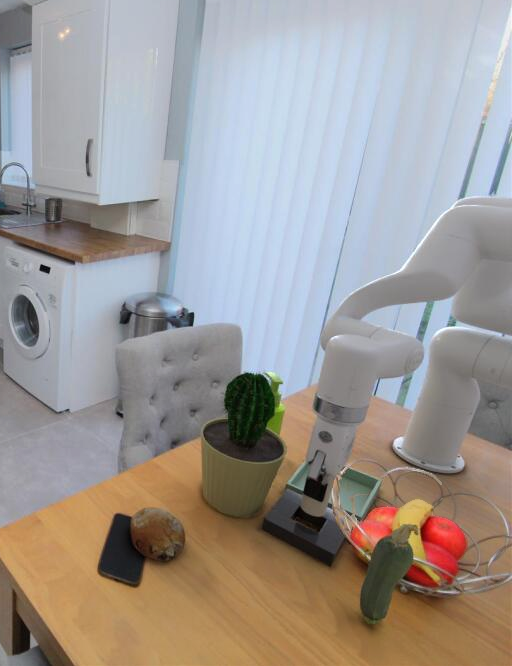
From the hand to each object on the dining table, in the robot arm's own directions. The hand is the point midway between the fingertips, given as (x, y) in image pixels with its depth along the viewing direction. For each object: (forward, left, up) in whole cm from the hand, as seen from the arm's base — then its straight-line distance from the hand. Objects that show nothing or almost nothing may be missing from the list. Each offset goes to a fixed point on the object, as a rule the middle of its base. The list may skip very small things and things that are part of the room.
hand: (317, 490), depth 88 cm
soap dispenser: (-19, -16, -10) cm, 26 cm away
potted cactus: (+2, -14, -10) cm, 17 cm away
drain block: (0, 0, -10) cm, 10 cm away
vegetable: (+12, +13, -10) cm, 20 cm away
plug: (0, 0, -4) cm, 4 cm away
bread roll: (+23, -18, -10) cm, 31 cm away
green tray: (-15, 0, -10) cm, 17 cm away
